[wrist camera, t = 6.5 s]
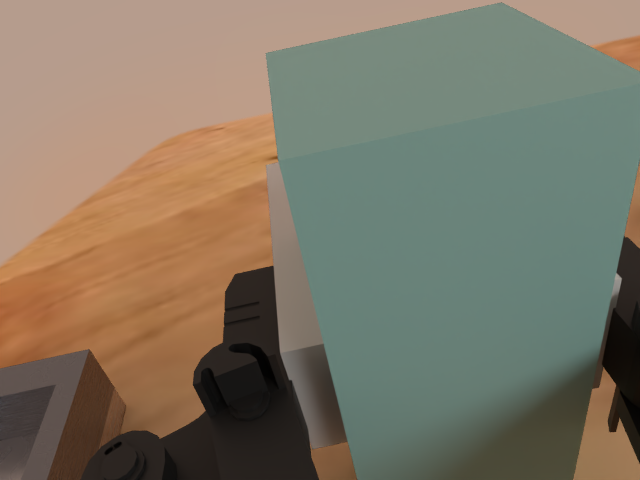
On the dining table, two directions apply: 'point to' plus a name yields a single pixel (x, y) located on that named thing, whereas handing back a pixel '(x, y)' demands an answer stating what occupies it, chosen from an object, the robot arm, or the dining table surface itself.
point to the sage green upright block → (459, 234)
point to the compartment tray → (55, 416)
